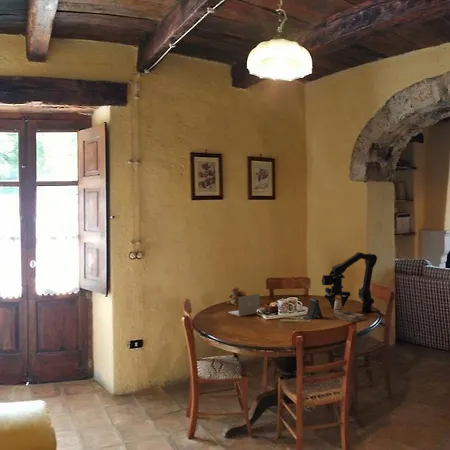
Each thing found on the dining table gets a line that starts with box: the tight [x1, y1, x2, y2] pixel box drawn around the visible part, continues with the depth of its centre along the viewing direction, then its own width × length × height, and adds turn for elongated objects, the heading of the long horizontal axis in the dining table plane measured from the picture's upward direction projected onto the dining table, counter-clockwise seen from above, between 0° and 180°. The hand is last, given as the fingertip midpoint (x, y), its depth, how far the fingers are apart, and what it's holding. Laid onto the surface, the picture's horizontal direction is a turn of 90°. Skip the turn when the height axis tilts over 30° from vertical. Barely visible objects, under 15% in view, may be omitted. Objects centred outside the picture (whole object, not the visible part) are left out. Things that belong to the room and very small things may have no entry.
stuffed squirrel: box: [226, 286, 248, 306], centre depth 366 cm, size 10×14×13 cm
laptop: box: [228, 293, 261, 317], centre depth 337 cm, size 18×12×13 cm
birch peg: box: [333, 299, 342, 313], centre depth 329 cm, size 4×4×9 cm
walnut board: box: [332, 310, 366, 323], centre depth 316 cm, size 12×16×3 cm
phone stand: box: [306, 298, 323, 320], centre depth 320 cm, size 9×6×12 cm, turn 117°
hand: (337, 307), depth 329 cm, fingers open, 9 cm apart
